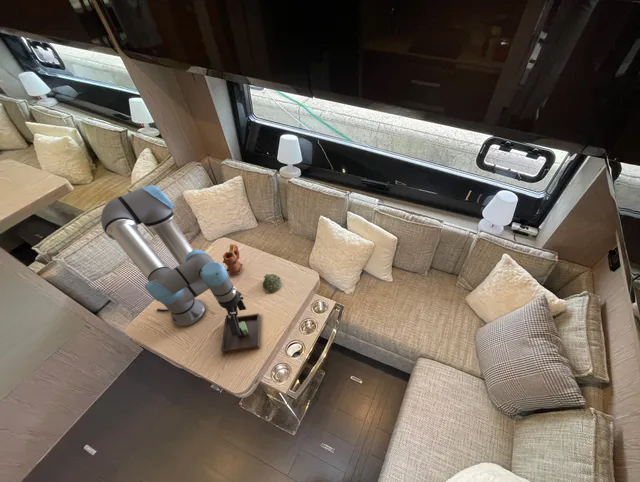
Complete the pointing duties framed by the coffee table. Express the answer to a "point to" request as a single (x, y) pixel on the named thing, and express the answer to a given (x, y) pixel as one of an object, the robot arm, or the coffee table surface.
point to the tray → (242, 343)
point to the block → (243, 327)
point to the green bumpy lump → (271, 282)
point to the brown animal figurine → (232, 260)
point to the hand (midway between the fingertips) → (242, 322)
